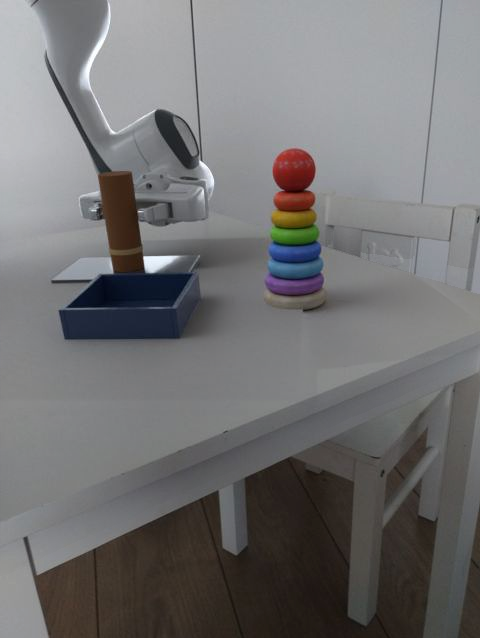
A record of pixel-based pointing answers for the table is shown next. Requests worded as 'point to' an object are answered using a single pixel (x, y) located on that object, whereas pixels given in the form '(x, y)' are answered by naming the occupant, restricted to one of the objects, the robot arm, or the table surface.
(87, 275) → the board
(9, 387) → the table surface
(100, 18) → the robot arm
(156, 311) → the tray
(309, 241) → the stacking toy
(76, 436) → the table surface
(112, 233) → the rolled mat
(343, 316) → the table surface
